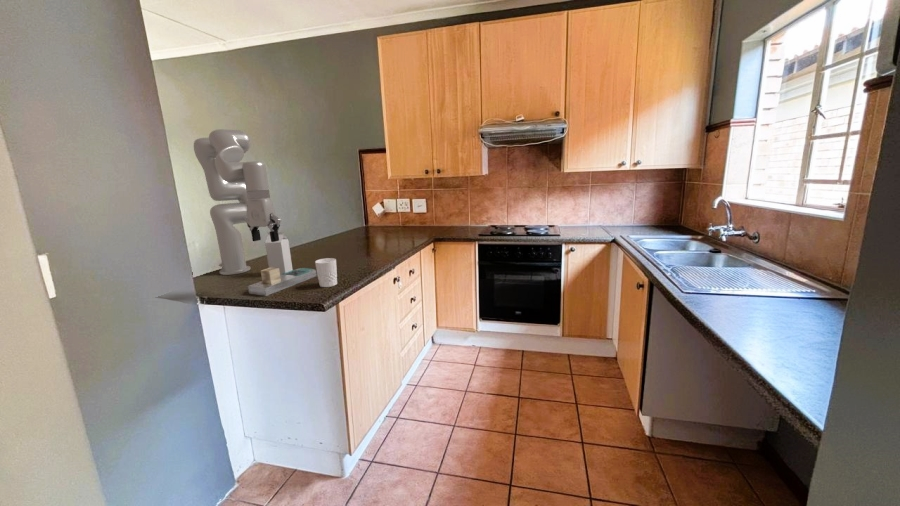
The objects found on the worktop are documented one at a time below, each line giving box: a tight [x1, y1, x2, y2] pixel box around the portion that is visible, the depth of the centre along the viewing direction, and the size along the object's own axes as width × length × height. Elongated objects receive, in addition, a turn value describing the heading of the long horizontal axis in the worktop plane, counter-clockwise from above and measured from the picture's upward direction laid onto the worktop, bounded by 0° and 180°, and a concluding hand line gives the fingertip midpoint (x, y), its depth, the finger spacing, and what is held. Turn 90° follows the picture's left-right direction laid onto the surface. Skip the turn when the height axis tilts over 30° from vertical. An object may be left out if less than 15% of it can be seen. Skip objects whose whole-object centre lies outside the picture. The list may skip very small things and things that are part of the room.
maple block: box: [260, 267, 281, 285], centre depth 141 cm, size 5×5×8 cm
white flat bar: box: [247, 267, 318, 297], centre depth 147 cm, size 26×9×3 cm, turn 157°
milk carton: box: [264, 231, 294, 275], centre depth 162 cm, size 7×7×19 cm
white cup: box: [314, 257, 338, 288], centre depth 144 cm, size 8×8×10 cm
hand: (265, 241), depth 138 cm, fingers open, 9 cm apart
